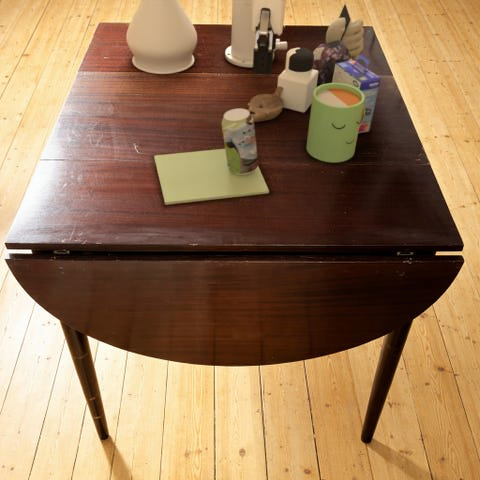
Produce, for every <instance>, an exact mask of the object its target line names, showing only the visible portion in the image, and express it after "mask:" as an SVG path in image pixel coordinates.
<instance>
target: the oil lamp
mask: <svg viewBox="0 0 480 480" xmlns="http://www.w3.org/2000/svg"><path fill="white" fill-rule="evenodd" d="M277 86H278V85H277ZM277 86H276V89H275V91H274V93H271V94H270V93H262V94H257V95H255V96H253V97H251V99H250V102H248V103H247V107H248V109H247V110H248V111H249V112H250V115H251V116H252V117H253V120H254V123H260V122H264V121H271V120H274V119H276V118H277V117H278V116H279V115H280V113H282V111H283V109H284V108H283V105H284V102H283V99H281V97H280V94H281V91H282V90H283V87H281V86H280V87H279V86H278V87H277Z"/></svg>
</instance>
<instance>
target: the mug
mask: <svg viewBox="0 0 480 480" xmlns="http://www.w3.org/2000/svg"><path fill="white" fill-rule="evenodd" d="M364 99H365V96H364V94H363V92H362V91H361V90H359V89H358V88H356V87H354V86H351V85H347V84H342V83H327V84H323V85H320V84H319V85H318V86H317V87H316V88H315V90H314V92H313V98H312V104H311V105H310V113H309V114H310V115H309V124H308V131H307V137H306V139H307V140H306V141H307V142H306V147H305V148H306V152H307V153H308V154H309V155H310V156H311V157H312V158H313V159H317V160H318V161H321V162H326V163H342V162H345V161H348V160H350V159H352V158H353V157H354V155H355V152H356V146H357V141H358V135H359V134H358V131H359V127H360V126H361V124H362V122H363V119H364V116H365V105H364ZM361 115H362V116H361Z"/></svg>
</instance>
